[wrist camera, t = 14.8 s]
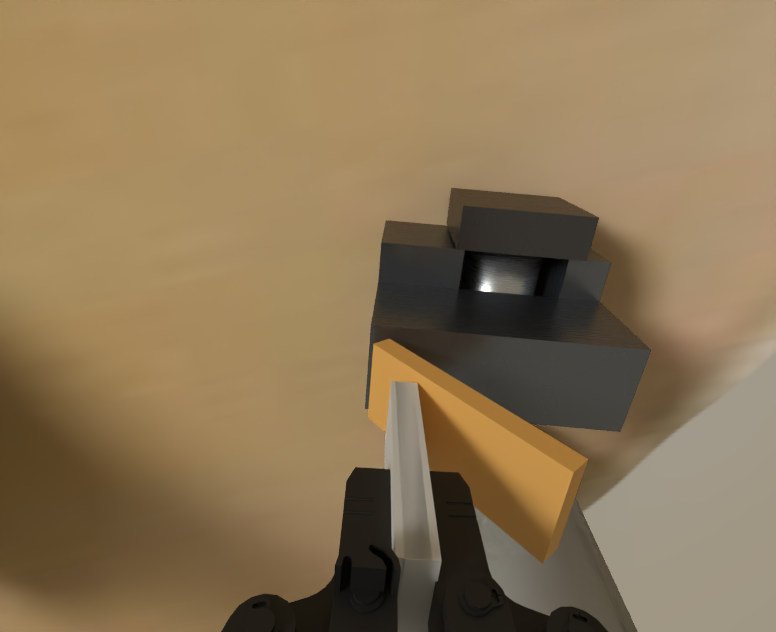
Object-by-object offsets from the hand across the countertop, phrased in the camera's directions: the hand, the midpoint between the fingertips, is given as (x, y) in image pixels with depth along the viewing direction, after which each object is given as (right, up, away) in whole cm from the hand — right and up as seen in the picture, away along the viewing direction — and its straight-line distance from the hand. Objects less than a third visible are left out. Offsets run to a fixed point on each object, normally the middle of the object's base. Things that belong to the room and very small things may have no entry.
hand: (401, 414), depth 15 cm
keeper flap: (+2, 0, 0) cm, 2 cm away
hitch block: (+5, +6, +11) cm, 14 cm away
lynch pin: (+6, +5, +11) cm, 14 cm away
